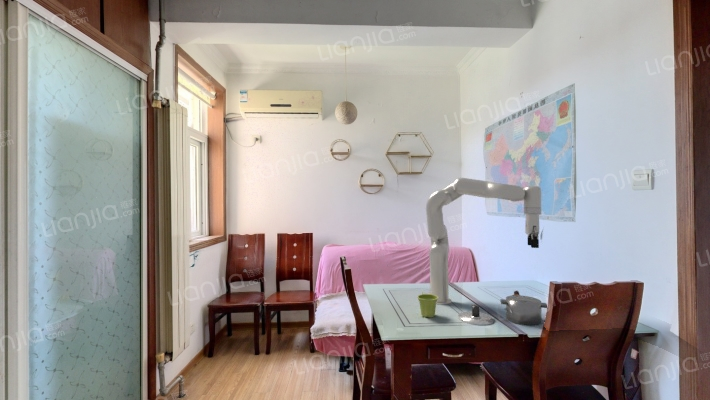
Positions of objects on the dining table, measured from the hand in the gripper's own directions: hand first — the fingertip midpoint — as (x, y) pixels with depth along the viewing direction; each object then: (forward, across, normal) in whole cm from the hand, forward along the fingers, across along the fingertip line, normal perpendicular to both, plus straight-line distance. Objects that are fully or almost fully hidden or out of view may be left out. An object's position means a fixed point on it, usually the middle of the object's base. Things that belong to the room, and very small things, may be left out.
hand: (533, 246), depth 161 cm
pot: (+31, +18, -7) cm, 36 cm away
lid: (+31, +23, -27) cm, 47 cm away
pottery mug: (+30, -1, -6) cm, 31 cm away
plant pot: (+31, +25, -48) cm, 62 cm away
